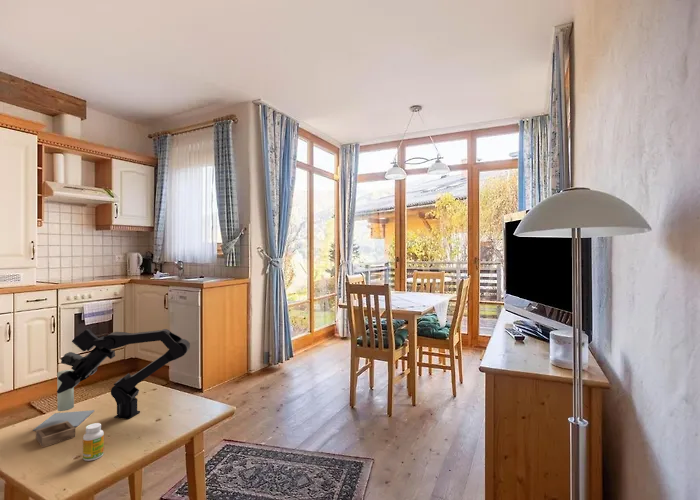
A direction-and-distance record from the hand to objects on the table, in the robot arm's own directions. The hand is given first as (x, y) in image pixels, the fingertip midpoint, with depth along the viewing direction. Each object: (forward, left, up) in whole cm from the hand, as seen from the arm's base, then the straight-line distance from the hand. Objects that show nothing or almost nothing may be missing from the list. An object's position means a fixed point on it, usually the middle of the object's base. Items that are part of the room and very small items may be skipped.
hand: (61, 390), depth 143 cm
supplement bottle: (-33, +19, -12) cm, 40 cm away
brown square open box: (-10, +11, -12) cm, 19 cm away
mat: (-1, -1, -12) cm, 12 cm away
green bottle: (-1, -1, -7) cm, 7 cm away
